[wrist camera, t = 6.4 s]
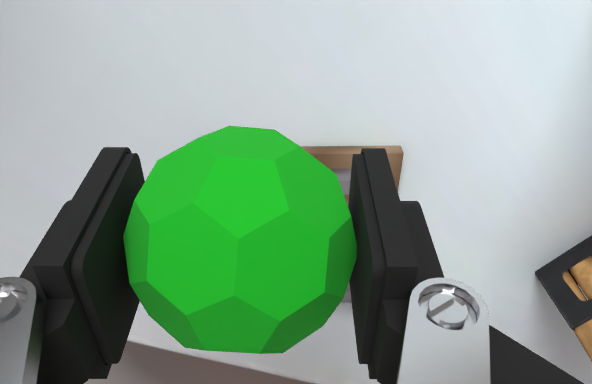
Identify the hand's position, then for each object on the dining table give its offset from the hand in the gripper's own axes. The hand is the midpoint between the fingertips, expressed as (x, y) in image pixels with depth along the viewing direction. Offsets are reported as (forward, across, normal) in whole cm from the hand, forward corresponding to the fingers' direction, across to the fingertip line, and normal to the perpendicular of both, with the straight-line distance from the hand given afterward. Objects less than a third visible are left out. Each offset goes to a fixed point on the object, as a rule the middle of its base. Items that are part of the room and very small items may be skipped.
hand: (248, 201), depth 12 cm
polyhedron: (+1, 0, 0) cm, 1 cm away
